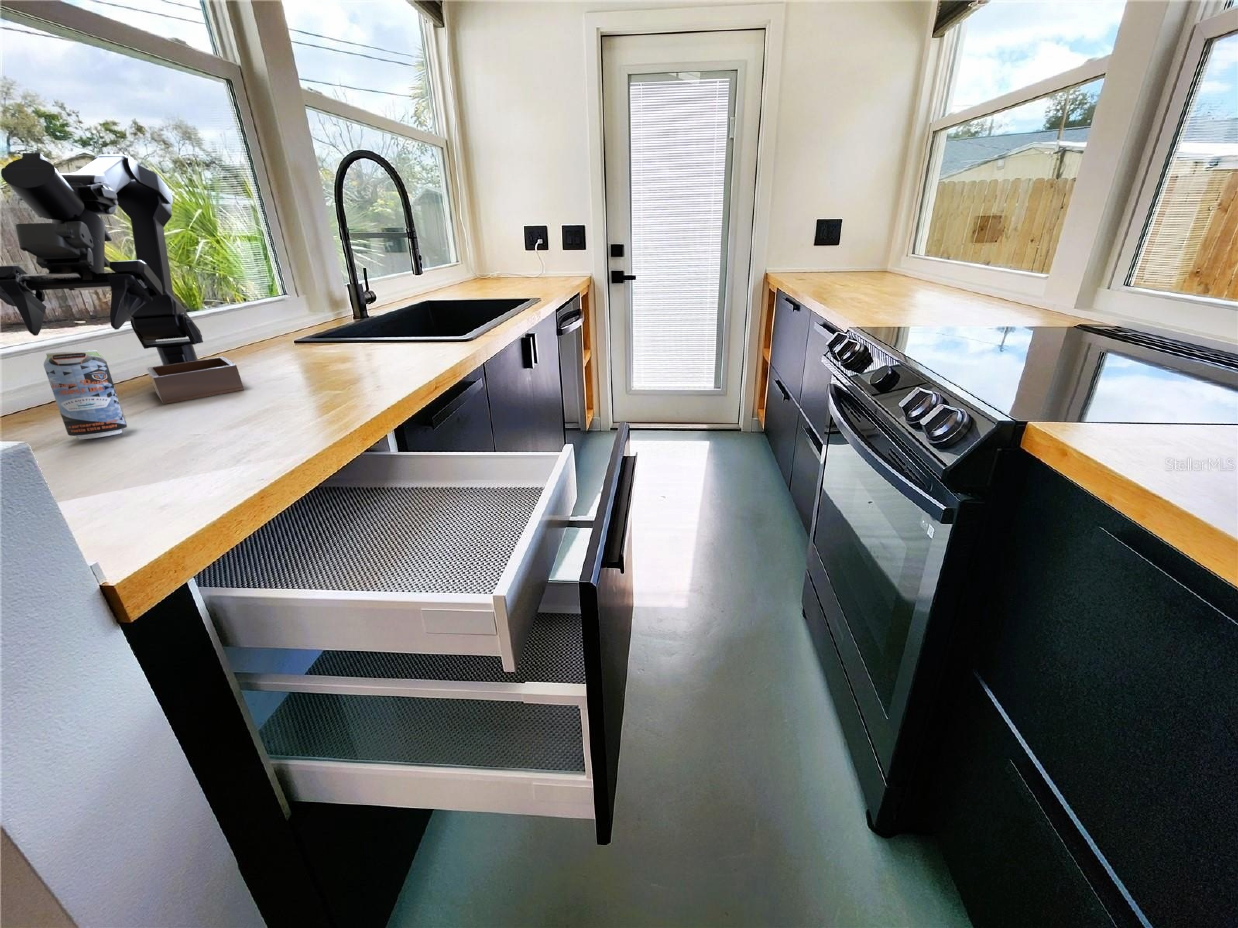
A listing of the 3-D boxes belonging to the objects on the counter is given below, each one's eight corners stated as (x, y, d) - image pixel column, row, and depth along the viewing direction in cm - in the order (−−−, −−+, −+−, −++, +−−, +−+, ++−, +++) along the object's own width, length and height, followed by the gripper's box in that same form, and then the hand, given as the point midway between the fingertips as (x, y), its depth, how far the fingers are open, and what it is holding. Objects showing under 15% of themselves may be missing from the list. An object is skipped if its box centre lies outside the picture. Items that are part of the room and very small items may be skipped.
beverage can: (64, 448, 71) (21, 358, 66) (84, 432, 77) (46, 348, 72) (125, 439, 73) (87, 351, 68) (139, 424, 79) (106, 343, 74)
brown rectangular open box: (155, 392, 97) (146, 367, 95) (231, 379, 104) (223, 356, 102) (163, 404, 89) (153, 378, 87) (244, 389, 96) (236, 365, 94)
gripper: (-52, 201, 70) (-66, 299, 66) (122, 199, 76) (121, 288, 71) (14, 261, 80) (6, 349, 76) (163, 255, 86) (165, 337, 81)
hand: (74, 330), depth 76 cm, fingers open, 9 cm apart
